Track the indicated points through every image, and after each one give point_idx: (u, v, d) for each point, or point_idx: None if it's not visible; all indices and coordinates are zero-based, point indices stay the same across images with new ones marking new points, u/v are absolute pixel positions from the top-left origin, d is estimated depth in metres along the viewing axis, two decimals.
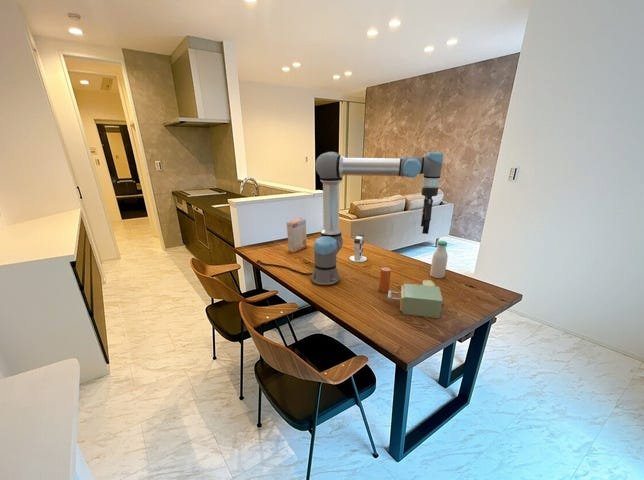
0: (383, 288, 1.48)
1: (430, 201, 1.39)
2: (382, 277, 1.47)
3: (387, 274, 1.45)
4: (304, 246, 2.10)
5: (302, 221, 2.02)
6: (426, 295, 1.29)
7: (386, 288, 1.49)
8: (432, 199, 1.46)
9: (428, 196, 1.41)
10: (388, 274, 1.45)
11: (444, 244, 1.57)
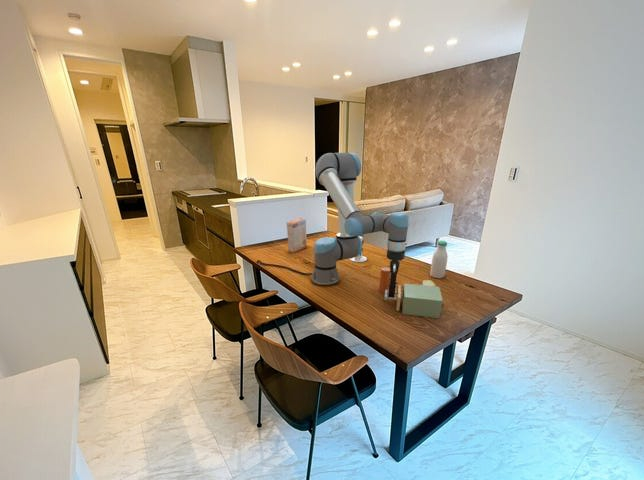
0: (383, 288, 1.48)
1: (394, 272, 1.25)
2: (382, 277, 1.47)
3: (387, 274, 1.45)
4: (304, 246, 2.10)
5: (302, 221, 2.02)
6: (426, 295, 1.29)
7: (386, 288, 1.49)
8: None
9: (393, 260, 1.25)
10: (388, 274, 1.45)
11: (444, 244, 1.57)
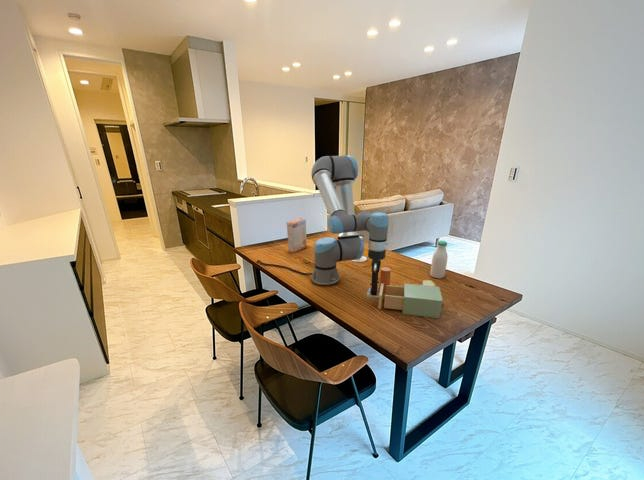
0: (383, 288, 1.48)
1: (375, 271, 1.27)
2: (382, 277, 1.47)
3: (387, 274, 1.45)
4: (304, 246, 2.10)
5: (302, 221, 2.02)
6: (426, 295, 1.29)
7: None
8: None
9: (374, 260, 1.27)
10: (388, 274, 1.45)
11: (444, 244, 1.57)
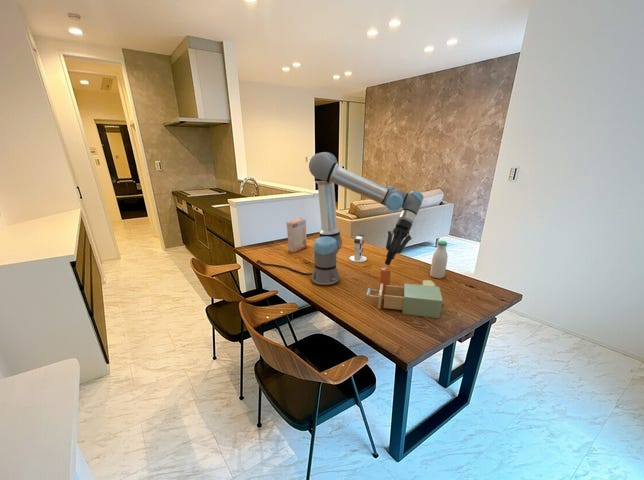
0: (383, 288, 1.48)
1: (410, 238, 1.45)
2: (382, 277, 1.47)
3: (387, 274, 1.45)
4: (304, 246, 2.10)
5: (302, 221, 2.02)
6: (426, 295, 1.29)
7: None
8: None
9: (408, 229, 1.46)
10: (388, 274, 1.45)
11: (444, 244, 1.57)
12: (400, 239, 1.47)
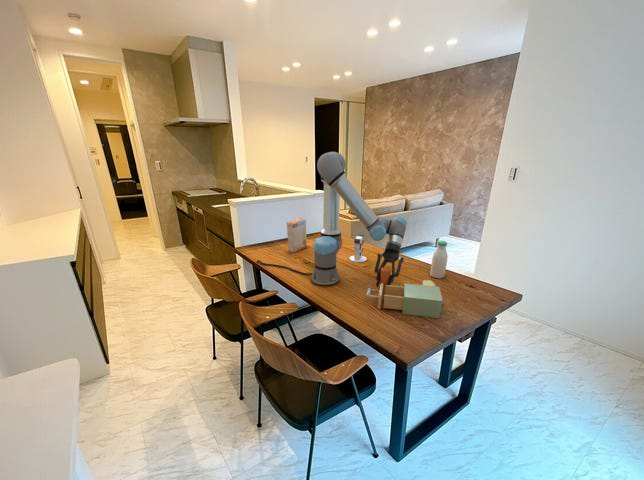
0: (383, 288, 1.48)
1: (403, 260, 1.49)
2: (382, 277, 1.47)
3: (387, 274, 1.45)
4: (304, 246, 2.10)
5: (302, 221, 2.02)
6: (426, 295, 1.29)
7: None
8: None
9: (398, 252, 1.50)
10: (388, 274, 1.45)
11: (444, 244, 1.57)
12: (394, 262, 1.49)
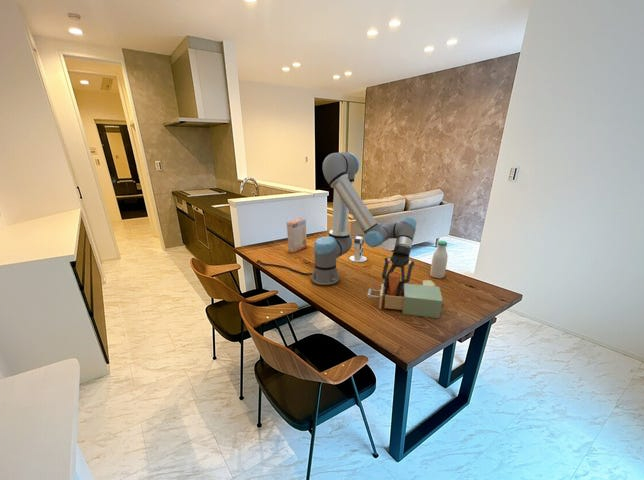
0: (392, 295, 1.34)
1: (413, 264, 1.34)
2: (391, 284, 1.32)
3: (397, 281, 1.31)
4: (304, 246, 2.10)
5: (302, 221, 2.02)
6: (426, 295, 1.29)
7: None
8: None
9: (408, 256, 1.36)
10: (397, 280, 1.31)
11: (444, 244, 1.57)
12: (403, 267, 1.34)
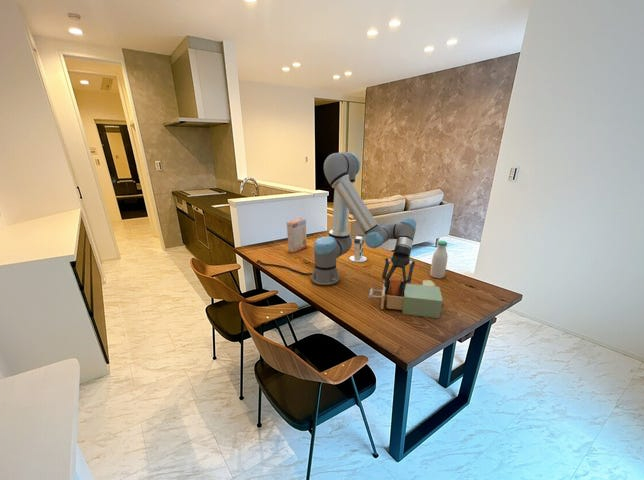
0: None
1: (414, 264, 1.34)
2: (392, 287, 1.32)
3: (398, 284, 1.31)
4: (304, 246, 2.10)
5: (302, 221, 2.02)
6: (426, 295, 1.29)
7: None
8: None
9: (409, 256, 1.36)
10: (399, 284, 1.31)
11: (444, 244, 1.57)
12: (404, 267, 1.34)
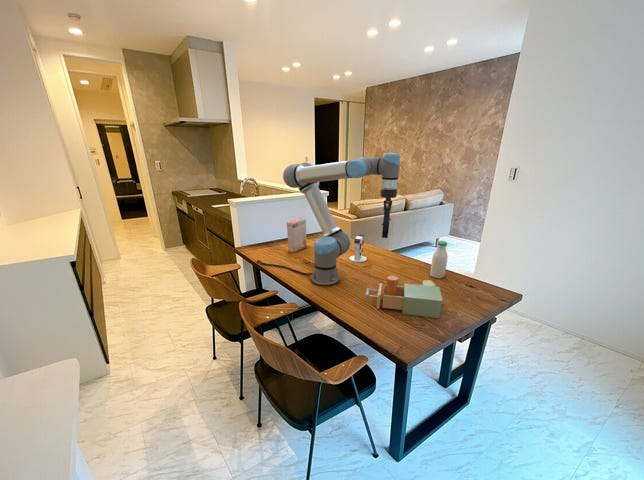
0: None
1: (387, 206, 1.37)
2: (389, 287, 1.33)
3: (395, 284, 1.31)
4: (304, 246, 2.10)
5: (302, 221, 2.02)
6: (426, 295, 1.29)
7: None
8: None
9: (386, 198, 1.39)
10: (395, 283, 1.31)
11: (444, 244, 1.57)
12: None
